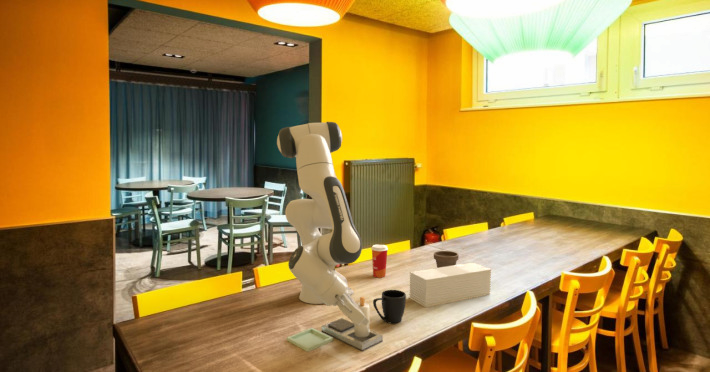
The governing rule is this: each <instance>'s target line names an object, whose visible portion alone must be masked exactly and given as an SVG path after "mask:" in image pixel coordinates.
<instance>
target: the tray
mask: <svg viewBox="0 0 710 372" xmlns="http://www.w3.org/2000/svg"><path fill="white" fill-rule="evenodd" d="M286 341H287V342H289V343H290V344H292V345H294V346H295V347H298V348H300V349H302V350H304V351H305V352H307V353H309V352H311V351H313V350H315V349H317V348H320V347H322V346H324V345H326V344H328V343H331V342H333V341H334V338H333V337H331V336H329V335H327V334H325V333H323V332H322V331H320V330H318V329H316V328H313V327H310V328H308V329H307V328H306V329H305V330H303V331H299V332H297V333H294V334H292V335H290V336H287V337H286Z"/></svg>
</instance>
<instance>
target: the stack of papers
mask: <svg viewBox="0 0 710 372" xmlns="http://www.w3.org/2000/svg"><path fill="white" fill-rule="evenodd" d="M491 279H492V268H489V267H486V266H483V265H480V264H478V263H475V262H468V263H467V262H466V263H461V264H456V265H453V266H446V267H440V268H437V267H434V268H427V269H422V270H414V271H409V299H410V300H412V301H414V302H416V303H417V304H419V305H421V306H422V307H424V308H428V307H433V306H439V305H443V304H449V303H453V302H460V301H464V300H467V299H468V298H469V299H474V298H478V296H479V297H483V295H484V296H488V295H487V294H489V295H491V286H492V285H491V283H492V282H491ZM473 297H474V298H473ZM469 299H468V300H469Z"/></svg>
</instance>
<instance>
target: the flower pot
mask: <svg viewBox="0 0 710 372" xmlns="http://www.w3.org/2000/svg"><path fill="white" fill-rule="evenodd" d="M433 259H434V260H435V263H436V268H440V267H446V266H453V265H457V261H459V253H458V252H456V251H450V250H439V251H435V252H433Z"/></svg>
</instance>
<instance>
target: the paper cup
mask: <svg viewBox="0 0 710 372" xmlns="http://www.w3.org/2000/svg"><path fill="white" fill-rule="evenodd" d="M370 249H371V254H372V255H371V259H372V262H371V263H372V277H373V278H376V277H378V279H383V278H385V277H386V273H387V272H386V271H387V259H388V258H387V257H388V250H389V248H388V245H385V244H373V245H372V247H371V248H370ZM382 277H383V278H382Z"/></svg>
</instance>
